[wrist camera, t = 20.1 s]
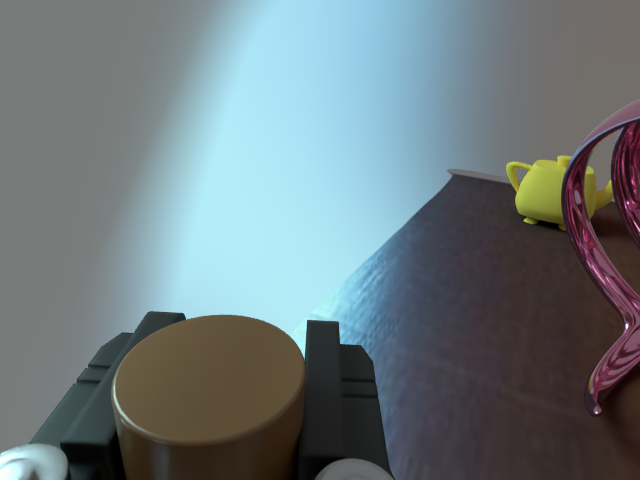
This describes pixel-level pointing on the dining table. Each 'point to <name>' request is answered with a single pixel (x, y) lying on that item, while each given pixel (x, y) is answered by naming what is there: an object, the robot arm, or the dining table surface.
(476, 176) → the dining table surface
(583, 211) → the pink metal ribbed cage
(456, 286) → the dining table surface
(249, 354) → the sponge brush
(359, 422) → the robot arm
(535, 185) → the teapot
